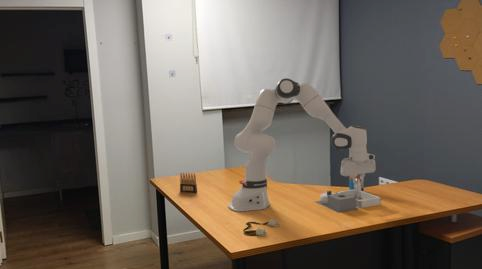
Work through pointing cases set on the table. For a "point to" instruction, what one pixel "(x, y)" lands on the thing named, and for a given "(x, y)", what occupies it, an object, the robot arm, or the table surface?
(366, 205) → the tray
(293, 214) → the table surface
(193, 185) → the ammunition clip
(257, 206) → the robot arm
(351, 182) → the beverage bottle
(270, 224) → the cable
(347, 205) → the grey rectangular block
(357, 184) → the lock pin
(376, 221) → the table surface
